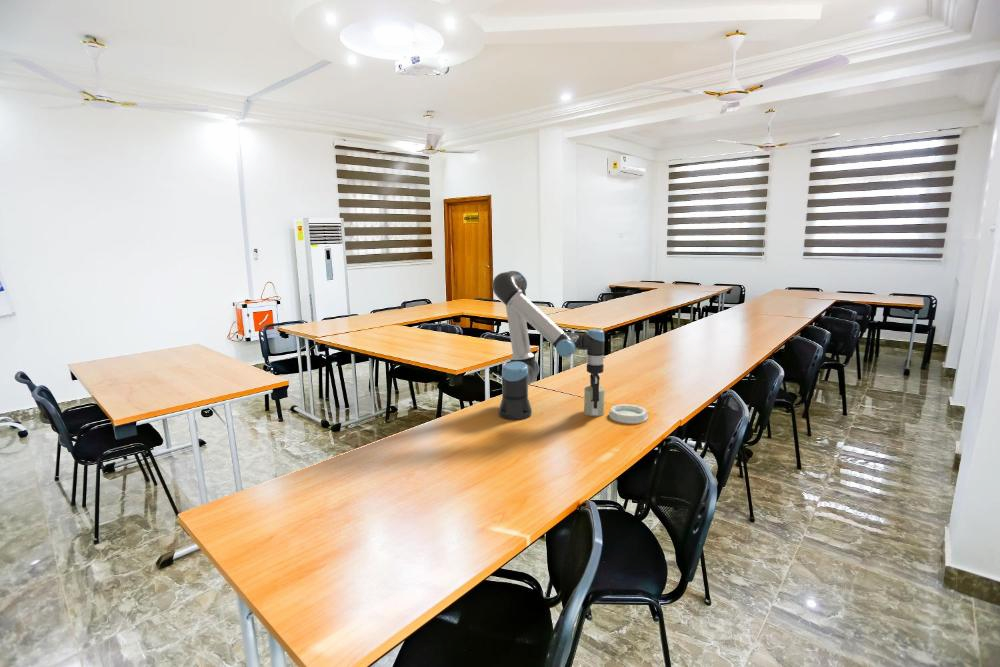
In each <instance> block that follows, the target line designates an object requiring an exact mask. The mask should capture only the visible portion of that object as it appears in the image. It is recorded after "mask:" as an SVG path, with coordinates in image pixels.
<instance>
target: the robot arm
mask: <svg viewBox="0 0 1000 667" xmlns="http://www.w3.org/2000/svg"><path fill="white" fill-rule="evenodd" d="M527 286H528V281H527V278H526V277H525V275H524V273H522V272H520V271H517V270H510V271H505V272H500V273H498V274H497V275H495V277H494V279H493V280H492V290H493V293H494V295H495V296H496V297H497V298H498V300H500V301H501V302H502V304H504V305H505V310H506V316H507V323H508V332H509V337H510V338H509V339H510V344H511V350H512V355H511V356H510V360H509V361H510V362H507V363H505V364H504V365H503V366H502V369H501V376H502V377H501V382H502V383H501V388H502V390H501V391H502V393H501V394H502V398H501V401H500V405H499V408H498V415H499V417H501V418H503V419H506V420H514V421H515V420H523V419H527V418H530V417H531V416H532V413H533V411H532V407H531V403H530V400H529V392H528V391H529V385H530V384H532V383H533V382H534V381H536V379H537V377H538V375H539V373H540V365H539V363H538V361H537V360H536V357H535V354H534V353H533V352H532V350H531V346H530V345H531V344H530V338H529V330H528V325H527V324H529V325H530V326H531V327H533V328H534V329H535V330H536V332H538V333H539V334H540V335H541V336H542V337H543V338H545V339H546V340H547V341H548V343H550V344H551V345H552V346H553V347H554V348H555V349H556V353H557V355H559V357H562V358H568V357H570V356H572V355H574V353H575V352H577V351H578V350H582V351H586V372H587V373H589V374H590V375H589V377H590V378H589V379H590V380H589V383H590V384H589V386H591V387H592V391H593V399H592V400H591V401H592V415H598V401H599V387H600V380H601V379H600V378H601V377H600V375H599V374H603V373H604V361H605V360H604V359H606V356H605V332H604V330H603V329H600V328H591V329H590V328H589V329H588V330H587V332H586V333H584V332H583V333H581V332H570V331H568V332H565V331H564V330H562V328H560V327H559V326H558V325H557V324H556V323H555V322H554V321H553V320H552V319H551V318H549V317H548V315H546V313H544V312H543V311H542V310H541V309H540V308H538V307H537V305H535V303H533V302H532V301H531V300H530V299H529V298H528V297H527V295H526V294H527V293H526V289H527V288H528V287H527ZM595 398H597V399H595Z"/></svg>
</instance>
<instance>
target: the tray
mask: <svg viewBox="0 0 1000 667" xmlns="http://www.w3.org/2000/svg"><path fill="white" fill-rule="evenodd" d="M608 416H609V419H611V420H613V421H615V422H617V423H620V424H621V423H622V424H629V425H633V424H634V425H636V424H638V425H639V424H643V423H645V422H647V421H648V420H649V414H648V411H647V409H646V408H644V407H642V406H640V405H636V404H627V403H626V404H624V403H620V404H614V405H613V406H611V407H610V411H609V412H608Z"/></svg>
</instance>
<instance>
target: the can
mask: <svg viewBox="0 0 1000 667" xmlns="http://www.w3.org/2000/svg"><path fill="white" fill-rule="evenodd" d="M583 391H584V398H583V399H584V400H583V401H584V402H583V403H584V404H583V406H584V407H583V414H584V415H585V416H589V417H601V416H603V415H605V387H603V386H599V401H598V415H592V401H591V400H592V399H593V391H592V387H591V386H590V385H588V386H586V387H584V390H583ZM595 399H597V398H595Z"/></svg>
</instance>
